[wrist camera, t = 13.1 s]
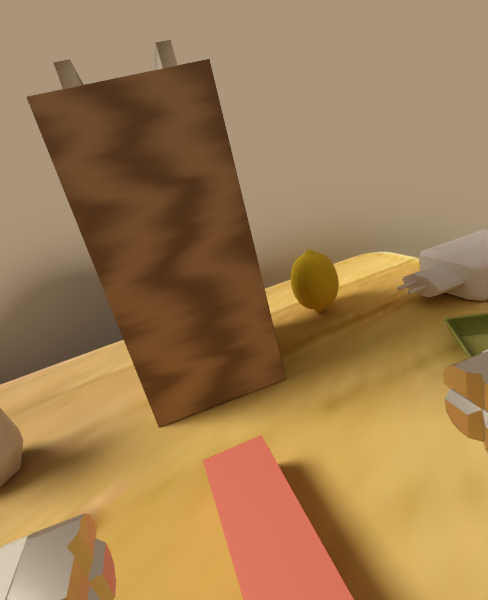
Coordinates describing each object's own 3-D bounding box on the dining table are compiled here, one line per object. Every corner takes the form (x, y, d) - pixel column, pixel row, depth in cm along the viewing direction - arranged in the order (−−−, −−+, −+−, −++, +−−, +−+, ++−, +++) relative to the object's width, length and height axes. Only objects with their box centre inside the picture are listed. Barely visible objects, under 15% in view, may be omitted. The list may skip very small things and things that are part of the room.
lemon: (344, 300, 47) (334, 240, 44) (341, 320, 42) (329, 253, 39) (301, 304, 49) (289, 247, 46) (294, 323, 44) (280, 260, 41)
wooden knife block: (158, 427, 32) (15, 70, 22) (154, 366, 43) (56, 109, 34) (286, 379, 34) (203, 33, 25) (250, 332, 45) (183, 82, 36)
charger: (379, 300, 45) (478, 263, 48) (437, 324, 37) (553, 278, 39) (375, 263, 43) (477, 228, 46) (434, 280, 35) (555, 235, 38)
